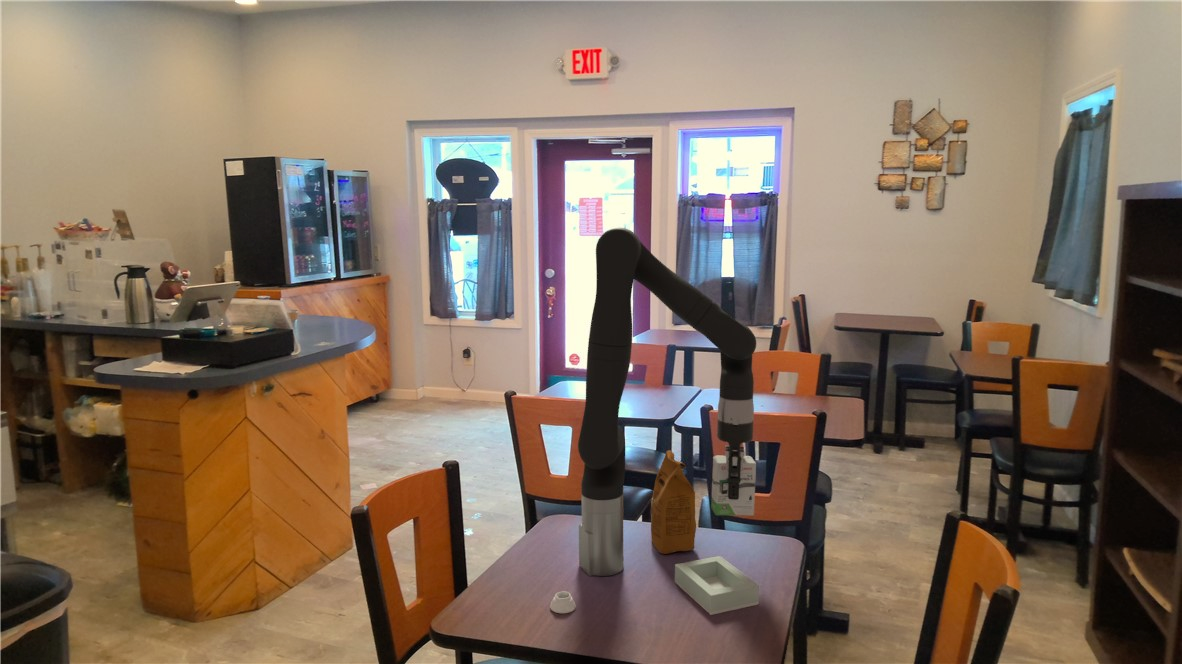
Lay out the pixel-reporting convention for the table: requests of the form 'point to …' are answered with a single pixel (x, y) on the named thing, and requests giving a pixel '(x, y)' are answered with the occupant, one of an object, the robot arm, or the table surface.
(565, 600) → the lidless jar
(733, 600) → the pale green rectangular frame
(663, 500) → the coffee package
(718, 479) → the ink box
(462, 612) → the table surface
